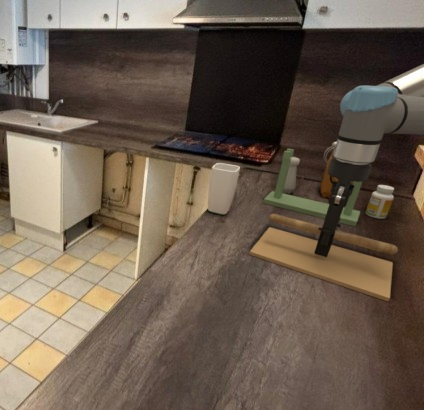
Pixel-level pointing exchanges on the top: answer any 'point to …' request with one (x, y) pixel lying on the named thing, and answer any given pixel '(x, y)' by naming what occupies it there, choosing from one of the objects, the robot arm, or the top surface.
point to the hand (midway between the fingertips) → (321, 252)
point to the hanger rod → (336, 234)
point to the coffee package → (328, 181)
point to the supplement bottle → (380, 202)
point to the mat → (326, 263)
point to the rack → (308, 205)
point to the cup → (222, 187)
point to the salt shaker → (291, 176)
